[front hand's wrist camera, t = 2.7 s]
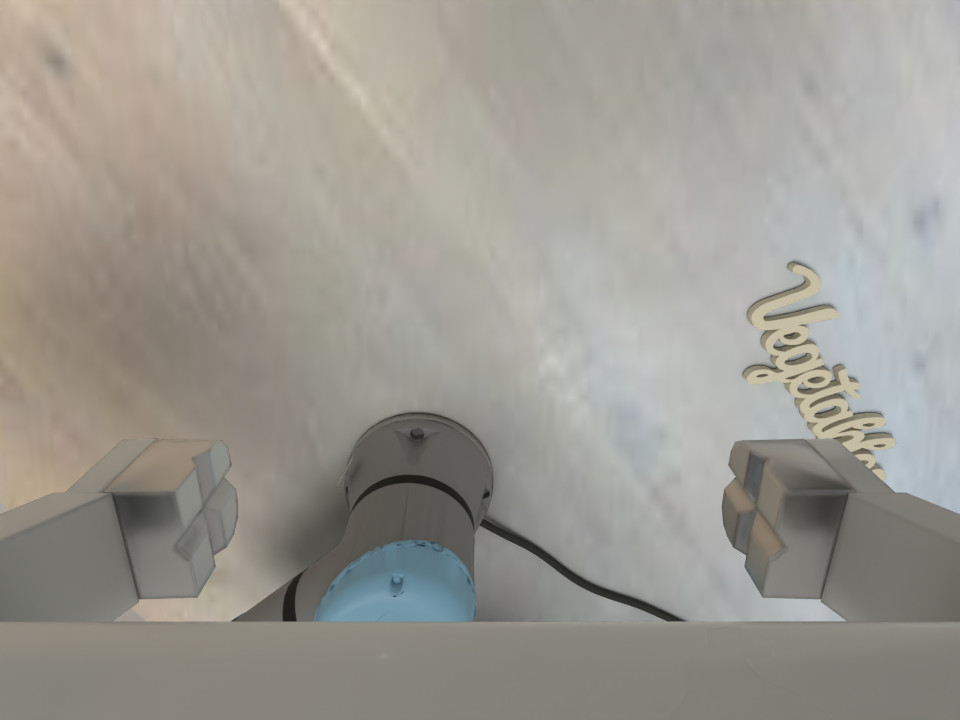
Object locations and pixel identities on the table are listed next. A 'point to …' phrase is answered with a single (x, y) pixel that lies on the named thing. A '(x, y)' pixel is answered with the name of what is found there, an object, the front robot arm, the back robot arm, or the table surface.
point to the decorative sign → (814, 373)
